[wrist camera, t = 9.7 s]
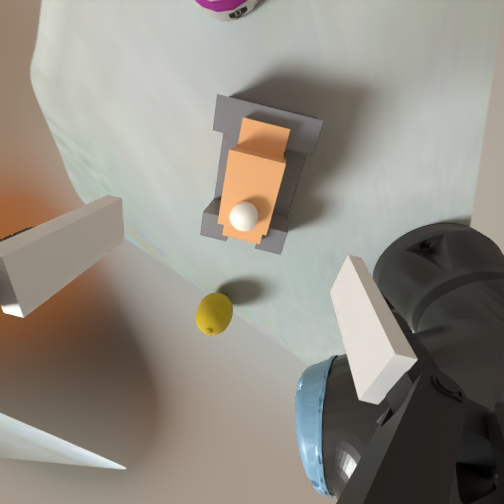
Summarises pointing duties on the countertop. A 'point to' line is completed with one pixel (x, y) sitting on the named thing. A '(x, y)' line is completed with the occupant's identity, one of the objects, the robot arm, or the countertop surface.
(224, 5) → the supplement can
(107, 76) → the countertop surface
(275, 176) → the block
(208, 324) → the lemon
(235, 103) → the grey stand
